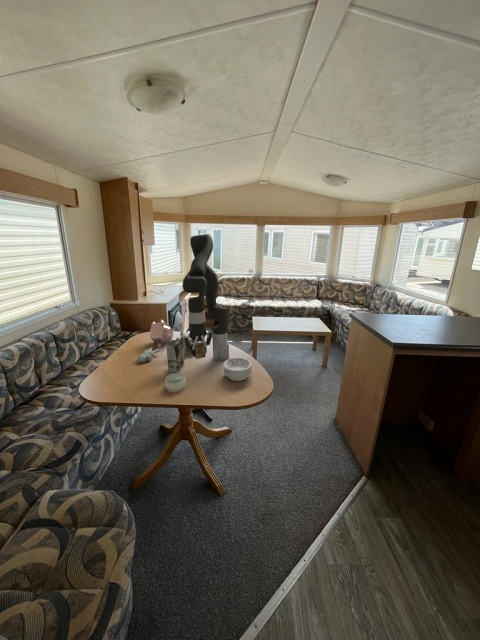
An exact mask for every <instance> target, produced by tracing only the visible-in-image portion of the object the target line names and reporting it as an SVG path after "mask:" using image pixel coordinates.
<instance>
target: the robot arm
mask: <svg viewBox="0 0 480 640" xmlns="http://www.w3.org/2000/svg"><path fill="white" fill-rule="evenodd" d="M189 241H190V242H189V243H190V247H191V252H192V254H193V257H194V258H193V260H192V261H191V264H190V268H189V270H188V271H187V274H186V275H185V276H184V278H183V280H182V283H181V285H182V290H183V291H184V292H185V293H186V294H187V293H188V294H198V295H197V296H194V297H191V298H189V299H188V301H187V305H188V327H189V328H188V329H189V334H188V335H185V336H186V337H185V336H184V337H183V338H184V341H185V343H186V346H187V348H188V349H191V354H192V355H193V356H194V357H193V358H195V356H196V355H195V345H196V343H197V342H199V343H200V342H202V343H203V344H204V345H205V355H206V354H207V353H208V351H207V350H208V349H207V346H210V345H211V341H212V358H213V360H214V361H218V362H220V361H227V360H228V359H230V346H229V345H230V344H229V342H228V328H229V310H228V308H227V307H225V306H220V305H217V304H218V303H217V300H216V298H217V294H218V291H219V288H220V284H219V279H218V278H219V277H218V275H217V273H216V272H215V271H214V270H213V268H212V267H211V266H210V265H209V264H208V262H209V260H210V258H211V255H212V253H213V250H214V242H213V241H214V240H213V238H212V236H211V234H208V233H203V234H198V235H192V236H190V239H189ZM205 302H206V307H207V308H206V309H207V313H208V315H207V316H208V318H209V319H210V320H211V321H213V322H217V325H215V326H213V327H212V330H211V331H207V327H206V325H207V323H206V320H207V318H206V312H205ZM205 338H206V339H205ZM189 339H192V341H191V346H190V344H189Z"/></svg>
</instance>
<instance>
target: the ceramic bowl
mask: <svg viewBox="0 0 480 640" xmlns="http://www.w3.org/2000/svg"><path fill="white" fill-rule="evenodd" d="M164 381H165V382H164V383H165V390H166V391H167V392H169V393H178V392H181V391H183V390H185V388H186V387H187V382H186V381H187V380H186V375H185V374H184V373H180V372H172V373H169V375H167V376H166V377H164Z"/></svg>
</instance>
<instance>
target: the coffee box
mask: <svg viewBox="0 0 480 640" xmlns="http://www.w3.org/2000/svg"><path fill="white" fill-rule="evenodd" d="M165 347H166V348H165V349H166V358H167V372H172V373H180V371H181V370H182V369H183V368H184V367H185V364H186V363H185V359H184V351H183V340H180V339H179V340H176V339H172V341H171V342H170V343H169V344H168V343H166V344H165Z"/></svg>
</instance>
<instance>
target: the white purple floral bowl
mask: <svg viewBox="0 0 480 640" xmlns="http://www.w3.org/2000/svg"><path fill="white" fill-rule="evenodd" d="M252 367H253V364H252V362H251V361H250V360H249V359H248V358H243V357H233V358H227V359H226V360H224V363H223V375H224V376H225V377H228V379H229V380H230V381H233V382H241V381H244V380H245V379H247V377H249V376H250V375H251V374H252V372H253V371H252V369H253V368H252Z"/></svg>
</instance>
